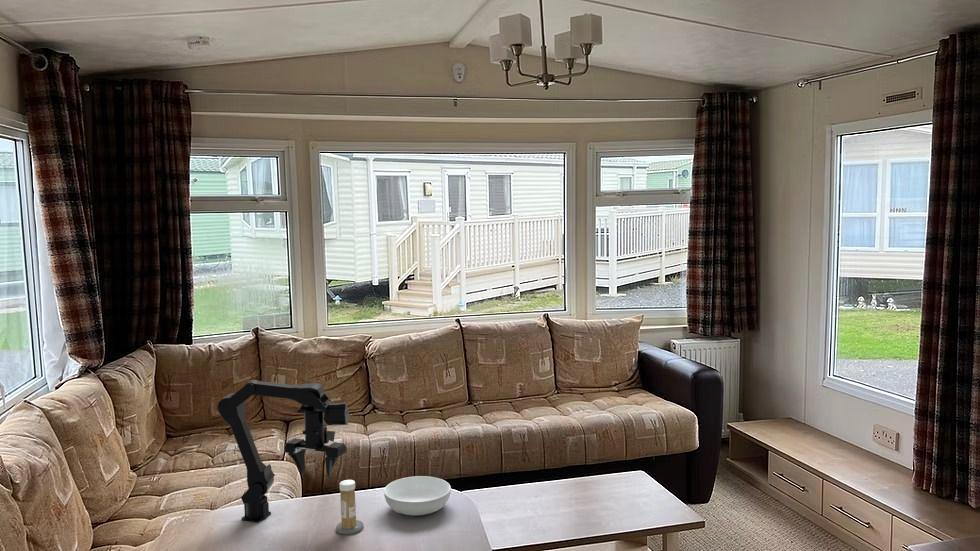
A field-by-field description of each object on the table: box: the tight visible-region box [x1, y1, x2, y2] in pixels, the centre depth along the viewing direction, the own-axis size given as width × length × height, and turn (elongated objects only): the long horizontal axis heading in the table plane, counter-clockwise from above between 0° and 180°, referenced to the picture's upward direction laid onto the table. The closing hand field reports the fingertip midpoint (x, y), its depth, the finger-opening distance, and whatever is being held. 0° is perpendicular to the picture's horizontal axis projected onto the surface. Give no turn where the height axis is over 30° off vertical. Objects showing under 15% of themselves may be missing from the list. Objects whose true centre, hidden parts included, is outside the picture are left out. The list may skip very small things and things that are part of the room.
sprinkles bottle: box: [339, 479, 357, 529], centre depth 198 cm, size 5×5×14 cm
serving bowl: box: [383, 475, 452, 516], centre depth 211 cm, size 21×21×7 cm
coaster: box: [335, 519, 365, 536], centre depth 198 cm, size 8×8×1 cm
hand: (316, 474), depth 206 cm, fingers open, 9 cm apart
